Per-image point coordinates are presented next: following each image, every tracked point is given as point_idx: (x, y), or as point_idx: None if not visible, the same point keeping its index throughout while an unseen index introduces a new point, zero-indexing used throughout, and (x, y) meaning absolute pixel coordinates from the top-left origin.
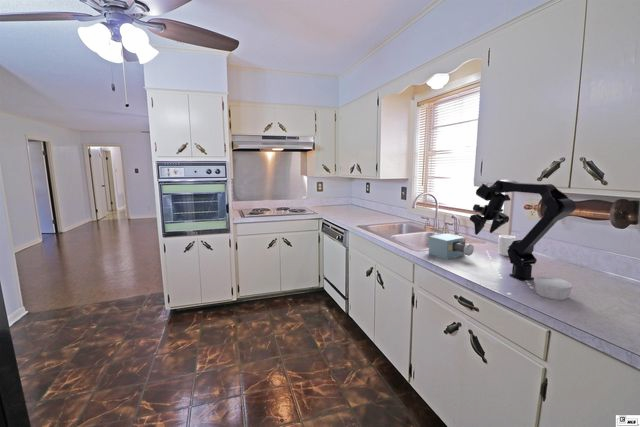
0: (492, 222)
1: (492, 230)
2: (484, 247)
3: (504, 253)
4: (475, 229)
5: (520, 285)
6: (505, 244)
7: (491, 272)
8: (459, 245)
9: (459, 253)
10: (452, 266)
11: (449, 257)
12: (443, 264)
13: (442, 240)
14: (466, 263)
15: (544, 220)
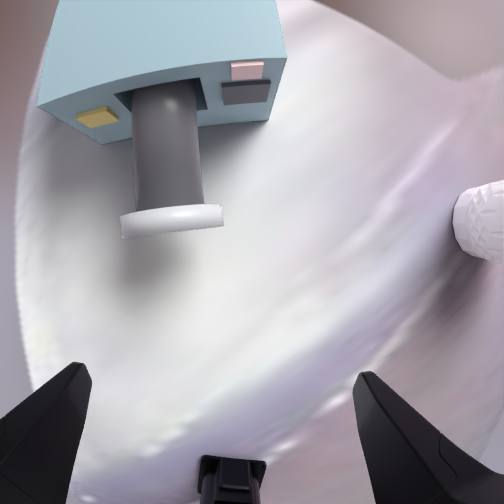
0: (442, 490)
1: (363, 430)
2: (468, 91)
3: (461, 238)
4: (27, 414)
5: (160, 500)
6: (497, 244)
7: (160, 406)
8: (136, 146)
9: (214, 118)
10: (50, 260)
11: (124, 137)
12: (35, 215)
13: (46, 69)
14: (145, 253)
15: None
